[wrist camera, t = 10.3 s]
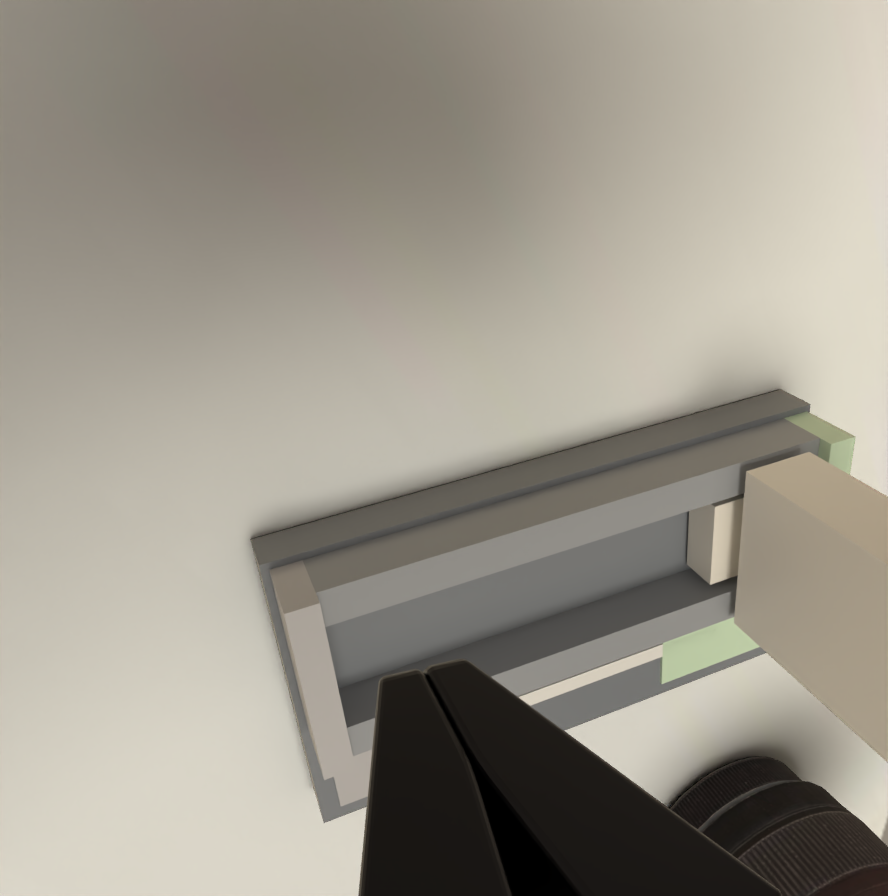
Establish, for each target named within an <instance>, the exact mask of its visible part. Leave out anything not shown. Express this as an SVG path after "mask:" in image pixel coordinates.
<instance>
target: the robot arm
mask: <svg viewBox="0 0 888 896" xmlns="http://www.w3.org/2000/svg"><path fill="white" fill-rule="evenodd" d="M358 896H782V894H781V892H780V890H779V889H777V888H776V887H775V886H773V885H772V884H771V883H769V882H768V881H767V880H765V879H764V878H763V877H761V876H760V875H758V874H757V873H756V872H754V871H753V870H752V869H750V868H749V867H748V866H746V865H745V864H744V863H742V862H741V861H740V860H738V859H737V858H735V857H734V856H733V855H731V854H730V853H729V852H727V851H726V850H725V849H723V848H722V847H721V846H719V845H718V844H717V843H715V842H714V841H712V840H711V839H710V838H708V837H707V836H706V835H704V834H703V833H702V832H700V831H699V830H698V829H696V828H695V827H693V826H692V825H691V824H689V823H688V822H687V821H685V820H684V819H683V818H681V817H680V816H679V815H677V814H676V813H675V812H673V811H672V810H670V809H669V808H668V807H666V806H665V805H664V804H662V803H661V802H660V801H658V800H657V799H656V798H654V797H653V796H652V795H650V794H649V793H647V792H646V791H645V790H643V789H642V788H641V787H639V786H638V785H637V784H635V783H634V782H633V781H631V780H630V779H628V778H627V777H626V776H624V775H623V774H622V773H620V772H619V771H618V770H616V769H615V768H614V767H612V766H611V765H610V764H608V763H607V762H605V761H604V760H603V759H601V758H600V757H599V756H597V755H596V754H595V753H593V752H592V751H591V750H589V749H588V748H587V747H585V746H584V745H582V744H581V743H580V742H578V741H577V740H576V739H574V738H573V737H572V736H570V735H569V734H568V733H566V732H565V731H563V730H562V729H561V728H559V727H558V726H557V725H555V724H554V723H553V722H551V721H550V720H549V719H547V718H546V717H545V716H543V715H542V714H540V713H539V712H538V711H536V710H535V709H534V708H532V707H531V706H530V705H528V704H527V703H526V702H524V701H523V700H522V699H520V698H519V697H517V696H516V695H515V694H513V693H512V692H511V691H509V690H508V689H507V688H505V687H504V686H503V685H501V684H500V683H498V682H497V681H496V680H494V679H493V678H492V677H490V676H489V675H488V674H486V673H485V672H484V671H482V670H481V669H480V668H478V667H477V666H475V665H474V664H473V663H471V662H470V661H468V660H465V659H455V660H451V661H447V662H442V663H438V664H434V665H430V666H428V667H427V668H426V669H425V670H424V671H423V672H422V671H421V670H418V669H412V670H408V671H404V672H399V673H395V674H391V675H386V676H384V677H382V678H381V679H380V681H379V684H378V692H377V703H376V713H375V724H374V735H373V746H372V756H371V767H370V778H369V788H368V799H367V810H366V820H365V831H364V842H363V852H362V863H361V874H360V884H359V895H358Z"/></svg>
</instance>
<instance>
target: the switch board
mask: <svg viewBox="0 0 888 896" xmlns="http://www.w3.org/2000/svg"><path fill="white" fill-rule="evenodd" d="M809 412H810V404H809V403H807V402H805V401H803V400H801V399H799V398H797V397H795V396H793V395H791V394H789V393H787V392H785V391H783V390H777V391H773V392H770V393H766V394H763V395H759V396H756V397H752V398H749V399H745V400H742V401H738V402H735V403H731V404H728V405H724V406H720V407H717V408H713V409H710V410H706V411H703V412H699V413H696V414H692V415H689V416H685V417H682V418H678V419H675V420H671V421H667V422H664V423H660V424H657V425H653V426H650V427H646V428H643V429H639V430H636V431H632V432H629V433H625V434H622V435H618V436H614V437H611V438H607V439H604V440H600V441H597V442H593V443H590V444H586V445H583V446H579V447H576V448H572V449H569V450H565V451H561V452H558V453H554V454H551V455H547V456H544V457H540V458H537V459H533V460H530V461H526V462H523V463H519V464H515V465H512V466H508V467H505V468H501V469H498V470H494V471H491V472H487V473H484V474H480V475H477V476H473V477H470V478H466V479H462V480H459V481H455V482H452V483H448V484H445V485H441V486H438V487H434V488H431V489H427V490H424V491H420V492H417V493H413V494H409V495H406V496H402V497H399V498H395V499H392V500H388V501H385V502H381V503H378V504H374V505H371V506H367V507H364V508H360V509H356V510H353V511H349V512H346V513H342V514H339V515H335V516H332V517H328V518H325V519H321V520H318V521H314V522H311V523H307V524H303V525H300V526H296V527H293V528H289V529H286V530H282V531H279V532H275V533H272V534H268V535H265V536H261V537H257V538H254V539H251V543H252V547H253V551H254V555H255V559H256V563H257V566H258V570H259V574H260V578H261V582H262V586H263V590H264V594H265V598H266V602H267V606H268V610H269V614H270V618H271V622H272V626H273V630H274V633H275V637H276V641H277V645H278V649H279V653H280V657H281V661H282V665H283V669H284V673H285V677H286V681H287V685H288V689H289V693H290V697H291V700H292V704H293V708H294V712H295V716H296V720H297V724H298V728H299V732H300V736H301V740H302V744H303V748H304V752H305V756H306V760H307V764H308V767H309V771H310V775H311V779H312V783H313V787H314V791H315V794H316V798H317V801H318V805H319V808H320V811H321V815H322V818H323V821H324V823H325V822H328V821H331V820H333V819H336V818H338V817H341V816H343V815H346V814H349V813H351V812H354V811H356V810H359V809H362V808H364V807H367V799H368V788H369V778H370V767H371V756H372V746H373V735H374V724H375V713H376V703H377V692H378V684H379V681H380V679H381V678H382V677H384V676H386V675H391V674H395V673H399V672H404V671H408V670H412V669H418V670H421V671H422V672H423V671H424V670H425V669H426V668H427V667H428V666H430V665H434V664H438V663H442V662H447V661H451V660H455V659H465V660H468V661H470V662H471V663H473V664H474V665H475V666H477V667H478V668H480V669H481V670H482V671H484V672H485V673H486V674H488V675H489V676H490V677H492V678H493V679H494V680H496V681H497V682H498V683H500V684H501V685H503V686H504V687H505V688H507V689H508V690H509V691H511V692H512V693H513V694H515V695H516V696H517V697H519V698H520V699H522V700H523V701H524V702H526V703H527V704H528V705H530V706H531V707H532V708H534V709H535V710H536V711H538V712H539V713H540V714H542V715H543V716H545V717H546V718H547V719H549V720H550V721H551V722H553V723H554V724H555V725H557V726H558V727H559V728H561V729H562V730H563V731H564V730H567V729H570V728H572V727H575V726H577V725H580V724H583V723H585V722H588V721H590V720H593V719H596V718H598V717H601V716H603V715H606V714H609V713H611V712H614V711H616V710H619V709H622V708H624V707H627V706H629V705H632V704H635V703H637V702H640V701H642V700H645V699H648V698H650V697H653V696H655V695H658V694H661V693H663V692H666V691H668V690H671V689H674V688H676V687H679V686H681V685H684V684H687V683H689V682H692V681H694V680H697V679H700V678H702V677H705V676H707V675H710V674H713V673H715V672H718V671H720V670H723V669H726V668H728V667H731V666H733V665H736V664H739V663H741V662H744V661H746V660H749V659H752V658H754V657H757V656H759V655H762V654H765V653H766V652H765V651H764V650H763V649H762V648H761V647H760V646H759V645H758V644H756V643H755V642H754V641H753V640H752V639H751V638H750V637H749V636H748V635H747V634H745V633H744V632H743V631H742V630H741V629H740V628H739V627H738V626H737V625H735V624H734V615H735V602H736V590H737V578H738V575H737V576H734V577H731V578H728V579H726V580H723V581H720V582H717V583H714V584H711V585H710V584H709V583H707V582H706V581H705V580H704V579H703V578H702V577H701V576H700V575H698V574H697V573H696V572H695V571H694V570H693V569H692V568H690V567H689V566H688V565H687V548H688V526H689V511H691V510H694V509H697V508H700V507H703V506H706V505H709V504H712V503H716V502H719V501H722V500H725V499H728V498H731V497H734V496H737V495H741V494H744V492H745V480H746V471H749V470H752V469H756V468H759V467H762V466H765V465H768V464H772V463H775V462H778V461H781V460H785V459H788V458H791V457H794V456H797V455H801V454H804V453H807V452H811V453H812V454H814V455H816V456H818V457H819V458H821V459H823V460H825V461H826V462H828V463H830V464H832V465H833V466H835V467H837V468H839V469H840V470H842V471H844V472H846V473H847V474H849V475H850V470H851V463H852V457H853V450H854V443H855V436H853V435H851V434H849V433H847V432H846V431H844V430H842V429H840V428H838V427H836V426H834V425H832V424H830V423H828V422H826V421H824V420H822V419H820V418H819V417H817V416H815V415H813V414H811V413H809Z"/></svg>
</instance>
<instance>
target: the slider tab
mask: <svg viewBox="0 0 888 896" xmlns="http://www.w3.org/2000/svg"><path fill="white" fill-rule="evenodd" d="M687 565H688V566H689V567H690V568H692V569H693V570H694V571H695V572H696V573H697V574H698V575H700V576H701V577H702V578H703V579H704V580H705V581H706V582H707V583H709V584H710V585H711V584H714V583H717V582H720V581H723V580H726V579H728V578H731V577H734V576H737V575H738V578H737V590H736V602H735V615H734V624H735V625H737V626H738V627H739V628H740V629H741V630H742V631H743V632H744V633H745V634H747V635H748V636H749V637H750V638H751V639H752V640H753V641H754V642H755V643H756V644H758V645H759V646H760V647H761V648H762V649H763V650H764V651H765V652H766V653H767V654H769V655H770V656H771V657H772V658H773V659H774V660H775V661H776V662H777V663H779V664H780V665H781V666H782V667H783V668H784V669H785V670H786V671H787V672H788V673H790V674H791V675H792V676H793V677H794V678H795V679H796V680H797V681H798V682H799V683H801V684H802V685H803V686H804V687H805V688H806V689H807V690H808V691H809V692H810V693H812V694H813V695H814V696H815V697H816V698H817V699H818V700H819V701H820V702H822V703H823V704H824V705H825V706H826V707H827V708H828V709H829V710H830V711H831V712H833V713H834V714H835V715H836V716H837V717H838V718H839V719H840V720H841V721H842V722H844V723H845V724H846V725H847V726H848V727H849V728H850V729H851V730H852V731H853V732H855V733H856V734H857V735H858V736H859V737H860V738H861V739H862V740H863V741H865V742H866V743H867V744H868V745H869V746H870V747H871V748H872V749H873V750H874V751H876V752H877V753H878V754H879V755H880V756H881V757H882V758H883V759H884V760H885V761H887V762H888V497H887V496H886V495H884V494H882V493H880V492H879V491H877V490H875V489H873V488H872V487H870V486H868V485H866V484H865V483H863V482H861V481H860V480H858V479H856V478H854V477H853V476H851V475H849V474H847V473H846V472H844V471H842V470H840V469H839V468H837V467H835V466H833V465H832V464H830V463H828V462H826V461H825V460H823V459H821V458H819V457H818V456H816V455H814V454H812V453H811V452H807V453H804V454H801V455H797V456H794V457H791V458H788V459H785V460H781V461H778V462H775V463H772V464H768V465H765V466H762V467H759V468H756V469H752V470H749V471H746V480H745V492H744V494H741V495H737V496H734V497H731V498H728V499H725V500H722V501H719V502H716V503H712V504H709V505H706V506H703V507H700V508H697V509H694V510H691V511H689V526H688V548H687Z"/></svg>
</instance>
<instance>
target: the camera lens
mask: <svg viewBox="0 0 888 896" xmlns="http://www.w3.org/2000/svg"><path fill="white" fill-rule="evenodd" d="M670 810H672V811H673V812H675V813H676V814H677V815H679V816H680V817H681V818H683V819H684V820H685V821H687V822H688V823H689V824H691V825H692V826H693V827H695V828H696V829H698V830H699V831H700V832H702V833H703V834H704V835H706V836H707V837H708V838H710V839H711V840H712V841H714V842H715V843H717V844H718V845H719V846H721V847H722V848H723V849H725V850H726V851H727V852H729V853H730V854H731V855H733V856H734V857H735V858H737V859H738V860H740V861H741V862H742V863H744V864H745V865H746V866H748V867H749V868H750V869H752V870H753V871H754V872H756V873H757V874H758V875H760V876H761V877H763V878H764V879H765V880H767V881H768V882H769V883H771V884H772V885H773V886H775V887H776V888H777V889H779V890H780V892H781V894H782V896H888V847H887V846H886V845H885V844H884V843H883V842H882V841H881V840H880V839H879V838H878V837H877V836H876V835H875V834H874V833H873V832H872V831H871V830H870V829H869V828H868V827H867V826H866V825H865V824H864V823H863V822H862V821H861V820H860V819H858V818H857V817H856V816H855V815H853V814H852V813H851V812H850V811H848V810H847V809H846V808H845V807H843V806H842V805H841V804H840V803H839V802H838V801H837V800H836V799H834V798H833V797H832V796H831V795H830V794H829V793H828V792H827V791H826V790H825V789H823V788H822V787H820V786H818V785H816V784H813V783H811V782H805V781H801V780H800V779H799V778H798V777H797V776H796V775H795V774H794V773H793V772H792V771H791V770H790V769H789V768H788V767H787V766H786V765H784V764H783V763H782V762H780V761H778V760H775V759H773V758H767V757H750V758H747V759H743V760H739V761H735V762H732V763H730V764H728V765H726V766H724V767H722V768H719V769H717V770H715V771H713V772H712V773H710V774H709V775H707V776H706V777H704V778H702V779H701V780H700V781H699V782H697V783H696V784H695V785H693V786H692V787H691V788H690V789H689V790H688V791H686V792H685V793H684V794H683V795H682V796H681V797H680V798H679V799H678V800H677V801H676V803H675V804H674V805H673V806H672V807H671V808H670Z"/></svg>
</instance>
